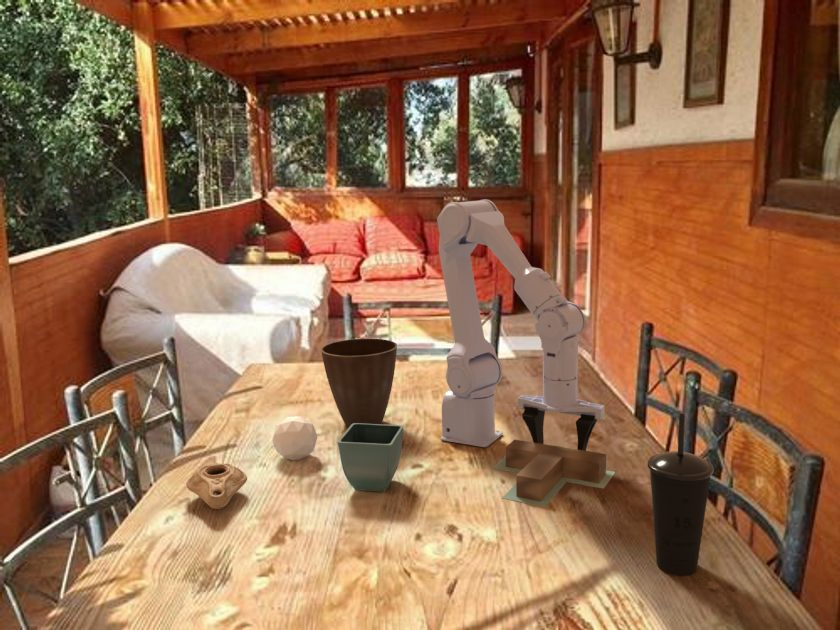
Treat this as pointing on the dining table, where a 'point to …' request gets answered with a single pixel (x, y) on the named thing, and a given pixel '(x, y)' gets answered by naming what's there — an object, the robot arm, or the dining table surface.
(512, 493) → the t mat
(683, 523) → the drinking cup
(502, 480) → the dining table surface
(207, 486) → the pottery oil lamp
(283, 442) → the geometric ball
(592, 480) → the t block
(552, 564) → the dining table surface
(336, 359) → the plant pot
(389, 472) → the flower pot
